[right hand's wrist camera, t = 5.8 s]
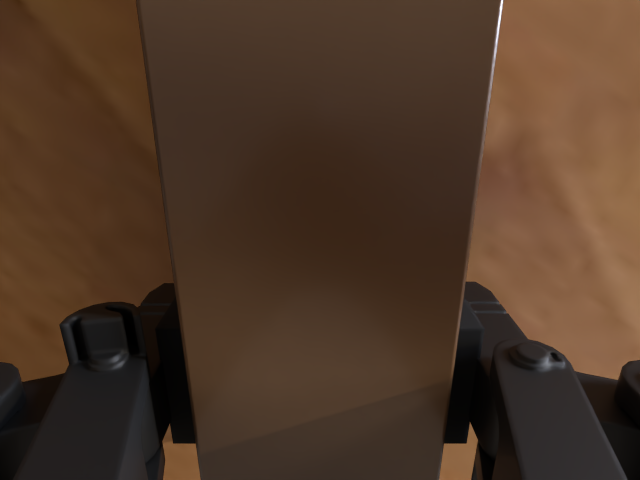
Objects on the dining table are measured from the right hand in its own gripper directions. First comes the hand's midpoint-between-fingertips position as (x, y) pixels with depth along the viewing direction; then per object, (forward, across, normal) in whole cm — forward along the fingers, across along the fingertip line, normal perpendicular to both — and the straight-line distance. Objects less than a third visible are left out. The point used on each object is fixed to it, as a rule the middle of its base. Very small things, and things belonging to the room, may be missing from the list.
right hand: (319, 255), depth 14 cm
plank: (+1, 0, -26) cm, 26 cm away
